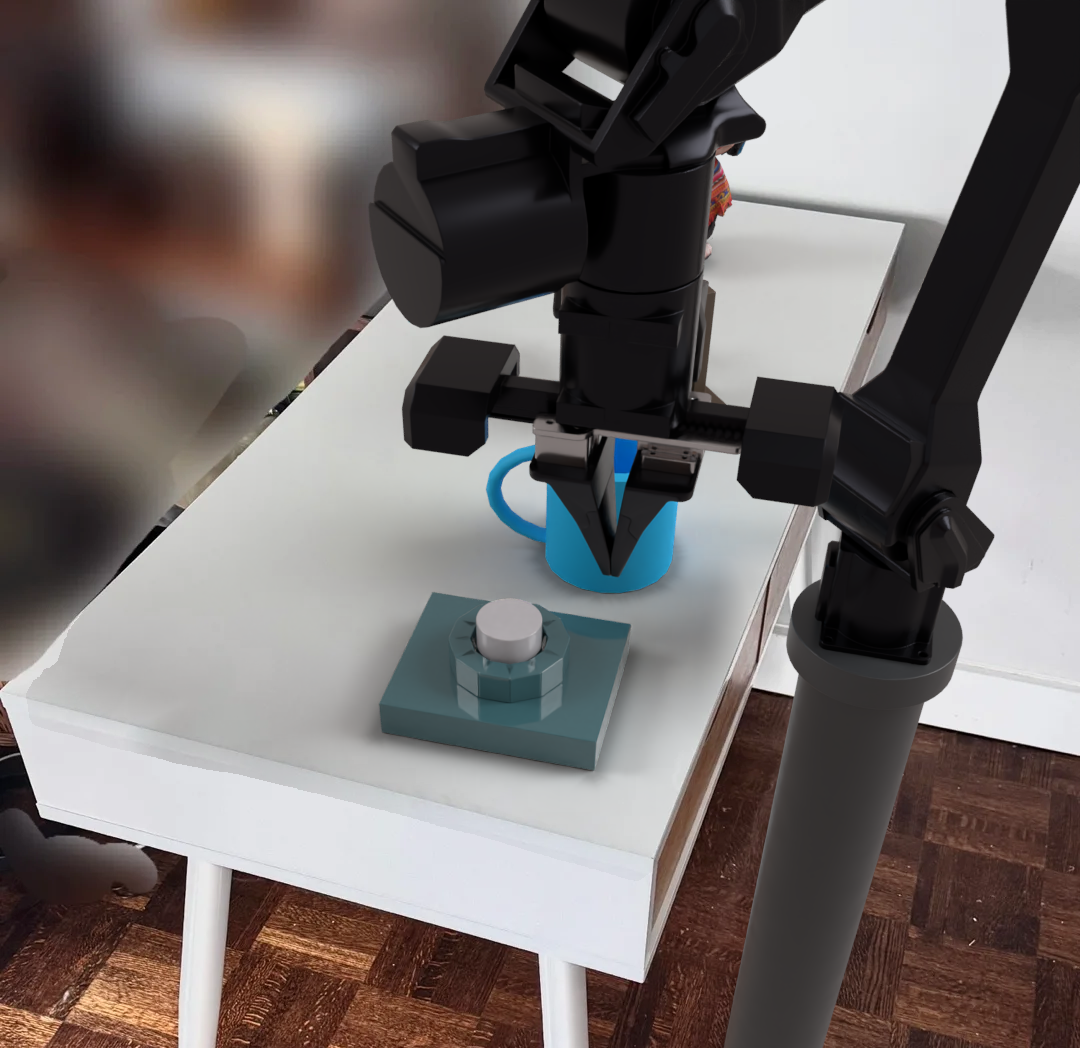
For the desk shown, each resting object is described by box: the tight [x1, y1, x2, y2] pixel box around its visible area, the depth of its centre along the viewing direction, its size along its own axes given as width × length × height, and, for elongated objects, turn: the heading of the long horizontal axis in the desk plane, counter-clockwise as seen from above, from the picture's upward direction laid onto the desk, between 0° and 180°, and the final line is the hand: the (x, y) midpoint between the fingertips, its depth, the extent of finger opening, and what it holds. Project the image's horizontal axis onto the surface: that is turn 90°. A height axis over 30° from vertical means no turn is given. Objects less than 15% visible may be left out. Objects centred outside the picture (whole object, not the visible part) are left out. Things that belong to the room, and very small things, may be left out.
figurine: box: [705, 141, 747, 261], centre depth 110 cm, size 10×7×15 cm
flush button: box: [476, 597, 542, 664], centre depth 73 cm, size 4×4×2 cm
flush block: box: [378, 591, 632, 772], centre depth 74 cm, size 12×10×4 cm
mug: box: [485, 438, 679, 594], centre depth 83 cm, size 12×8×8 cm
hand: (612, 570), depth 64 cm, fingers closed
